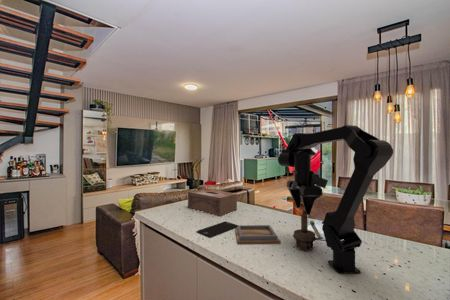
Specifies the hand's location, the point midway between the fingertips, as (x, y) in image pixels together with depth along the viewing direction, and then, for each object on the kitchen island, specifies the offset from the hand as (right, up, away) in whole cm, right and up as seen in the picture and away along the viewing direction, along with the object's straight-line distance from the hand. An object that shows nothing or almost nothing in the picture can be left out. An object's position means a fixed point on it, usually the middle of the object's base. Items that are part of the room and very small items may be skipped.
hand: (302, 210), depth 80 cm
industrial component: (-1, -13, -1) cm, 13 cm away
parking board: (-16, -13, +9) cm, 22 cm away
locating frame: (-16, -12, +9) cm, 22 cm away
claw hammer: (+12, -14, +15) cm, 23 cm away
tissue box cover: (-36, -13, +49) cm, 63 cm away
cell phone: (-31, -14, +17) cm, 38 cm away
